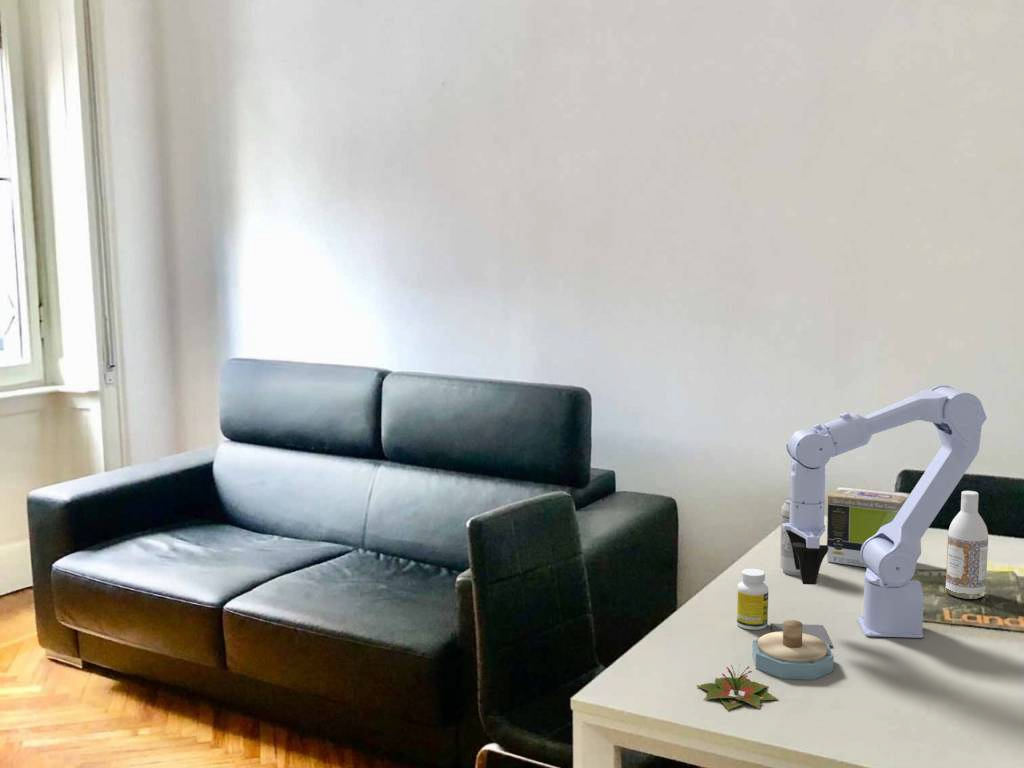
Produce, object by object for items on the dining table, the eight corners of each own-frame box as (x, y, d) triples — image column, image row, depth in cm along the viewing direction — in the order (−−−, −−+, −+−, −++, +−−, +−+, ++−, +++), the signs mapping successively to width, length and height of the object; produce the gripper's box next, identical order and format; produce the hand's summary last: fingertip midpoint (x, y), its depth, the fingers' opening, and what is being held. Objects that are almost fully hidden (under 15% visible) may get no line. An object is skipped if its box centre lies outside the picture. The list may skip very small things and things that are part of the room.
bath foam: (937, 591, 194) (941, 490, 192) (964, 586, 197) (968, 486, 194) (966, 603, 188) (971, 498, 185) (993, 597, 191) (998, 494, 188)
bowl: (823, 649, 168) (824, 635, 168) (837, 680, 156) (837, 665, 156) (750, 647, 170) (750, 632, 169) (758, 677, 158) (758, 662, 158)
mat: (822, 627, 178) (822, 625, 178) (832, 647, 169) (832, 645, 169) (770, 625, 179) (770, 623, 179) (776, 645, 170) (777, 643, 170)
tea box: (910, 560, 213) (912, 492, 211) (899, 574, 205) (902, 503, 203) (837, 549, 221) (839, 484, 219) (825, 562, 213) (826, 494, 211)
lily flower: (681, 687, 156) (681, 659, 156) (747, 674, 161) (747, 646, 160) (724, 721, 145) (725, 691, 144) (794, 706, 149) (794, 676, 149)
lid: (839, 658, 159) (840, 633, 158) (775, 665, 157) (776, 639, 156) (807, 632, 169) (808, 608, 168) (746, 638, 167) (747, 614, 166)
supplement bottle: (768, 631, 176) (769, 577, 175) (736, 630, 177) (737, 576, 176) (767, 620, 182) (768, 567, 180) (736, 618, 183) (737, 566, 181)
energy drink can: (816, 572, 207) (818, 501, 204) (797, 578, 203) (798, 506, 201) (793, 565, 211) (795, 495, 209) (773, 570, 208) (775, 500, 206)
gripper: (777, 489, 181) (776, 562, 183) (789, 510, 166) (787, 589, 168) (818, 489, 180) (816, 563, 182) (833, 511, 165) (831, 591, 167)
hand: (805, 576), depth 175 cm, fingers open, 7 cm apart
